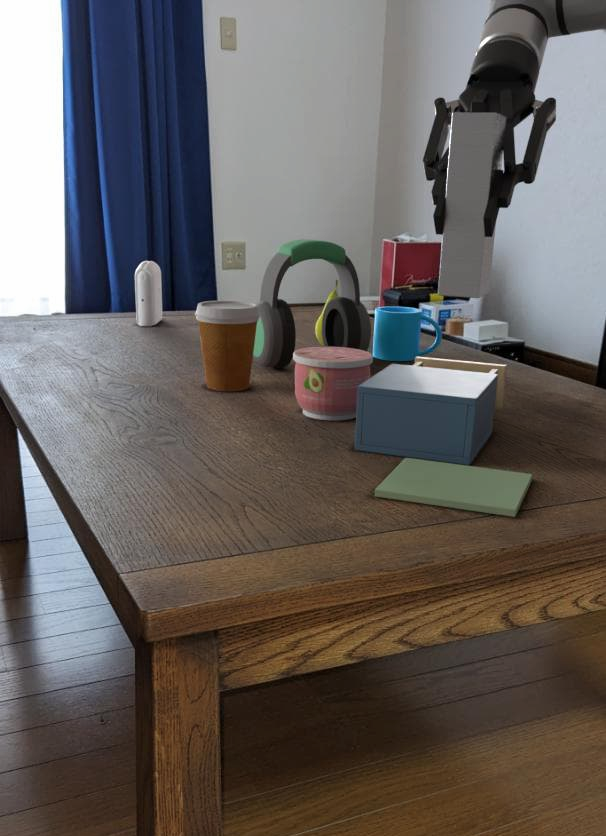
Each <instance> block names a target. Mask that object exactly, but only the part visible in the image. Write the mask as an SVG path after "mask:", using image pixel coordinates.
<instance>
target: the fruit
mask: <svg viewBox="0 0 606 836" xmlns="http://www.w3.org/2000/svg"><path fill="white" fill-rule="evenodd" d="M338 282H339V280H338V279H336V280H335V282H334V283H335V288H334V290H333V291H331V293H330V294H329V295H328V298H327V299H326V302H325V304H324V306H323V309H322V312H321V314H320V316H319V317H318V319H317V321H316V323H315V328H314V330H315V331H314V333H315V337H316V339H317V341H318V342H319V344H320V345H321V346H322V347H324V344H323V339H322V319H323V313H324V310H325V307H326V305H327V303H328V302H329V301H330V300H331V299H333V298H335V297H340V296H339V294H338V291H337V289H338V285H339V284H338Z"/></svg>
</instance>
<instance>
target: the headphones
mask: <svg viewBox="0 0 606 836" xmlns="http://www.w3.org/2000/svg"><path fill="white" fill-rule="evenodd" d="M309 260H324V261H326V262H328V263H329V264H331V265H332V266H333V267H334V268H335V270H336V273H337V275H338V279H339V284H340V295H341V296H339V297H335V298H333V299H331V300H330V301H329V302H328V303H327V305H326V307H325V306H324V307H325V310H324V313H323V319H322V339H323V344H324V346H323V347H345V348H353V349H359V350H363V351H367V352H368V350H369V346H370V344H371V339H372V324H371V318H370V314H369V312H368V309H367V307H366V306H365V304H364V303H363V302H362V301H361V295H360V294H361V292H360V291H361V290H360V282H359V277H358V273H357V270H356V267H355V265H354V263H353V261H352V260H351V259H350V258H349V256H348V255H346V249H345V248H344V247H342V246H341V245H339V244H337V243H334V242H331V241H328V240H327V241H326V240H320V239H314V238H300V239H295V240H291V241H288V242H285V243H283V244H282V245H280V246H279V247H278V249H277V253H276V254H275V255H273V257H272V258H271V260H270V261H269V263H268V264H267V266H266V269H265V271H264V274H263V278H262V282H261V287H260V297H259V302H257V303H256V304H257V307H258V311H259V313H260V317H259V320H258V321H257V328H256V336H255V344H254V351H253V359H254V361H255V363H257V364H259V365H260V366H261V367H264V368H265V367H266V368H269V367H270V368H274V369H282V368H286V367H287V366H289V365H290V363H291V362H292V360H293V353H294V352H295V351H296V350H295V349H296V340H297V335H296V334H297V333H296V331H297V330H296V324H295V319H294V314H293V312H292V309H291V306H290V304H289V303H288V302H287V301H285V299H282V298H279V293H280V287H281V284H282V281H283V278H284V276H285V274H286V273H287V271H288V270H289V268H290V267H294V266H296V265H297V264H299V263H301V262H304V261H309Z"/></svg>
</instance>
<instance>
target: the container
mask: <svg viewBox="0 0 606 836" xmlns="http://www.w3.org/2000/svg"><path fill="white" fill-rule="evenodd" d="M292 360H293V361H294V362H295V365H294V387H295V388H294V396H295V399H296V401H297V404H298V406H299V407H300V408H301V409H302V414H303V415H304V416H306V417H307V418H310V419H314V420H320V421H322V420H323V421H347V420H353V419H356V412H357V393H358V386H359V385H361V384H362V383H364V382H365V381H367V380H368V379H370V378H371V364H373V362H374V357H373V353H371V352H369V351H368V350H367V351H363V350H359V349H353V348H345V347H324V346H309V347H303V348H300V349H296V350H294V353H293V358H292Z"/></svg>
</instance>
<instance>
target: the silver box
mask: <svg viewBox="0 0 606 836" xmlns="http://www.w3.org/2000/svg"><path fill="white" fill-rule="evenodd" d="M489 111H490V105H487V104H485V103H482V102H472V103H471V112H453V113H452V123H451V125H450V136H449V145H450V148H449V160H448V173H447V185H446V199H445V211H444V224H443V235H441V247H440V248H441V249H440V261H439V262H440V263H439V274H438V276H439V277H438V285H437V287H438V288H437V296H439V297H440V296H441V297H454V298H455V297H456V298H470V299H480V298H481V297H484V296H485V295H487V294H489V293H490V285H491V275H492V266H493V257H494V256H493V255H494V247H495V246H494V245H495V235H496V228H497V227H496V226H497V223H496V224H495V228H494V232H493V235H492V237H485V232H484V220H483V217H484V213H485V210H486V206H487V202H488V199H489V195H490V191H491V187H492V184H493V180H494V176H495V172H496V170H502V166H503V158H504V156H503V143H504V138H505V128H506V118H507V117H506V116H504V115H501V114H499V113H489Z"/></svg>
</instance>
